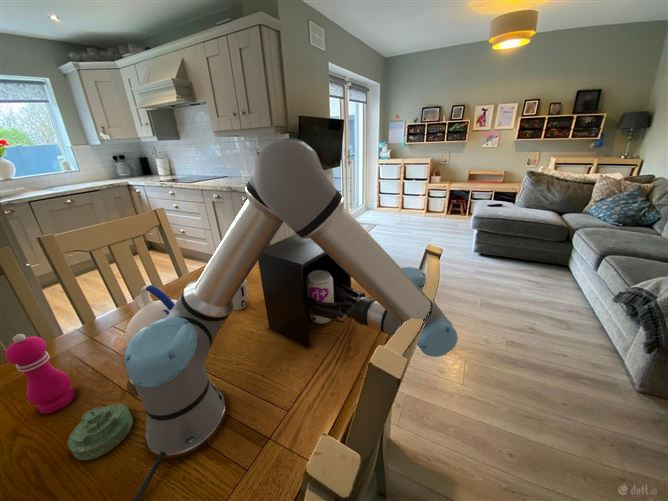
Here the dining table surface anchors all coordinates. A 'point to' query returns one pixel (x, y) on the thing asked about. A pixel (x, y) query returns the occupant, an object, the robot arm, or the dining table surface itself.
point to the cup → (240, 297)
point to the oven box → (294, 283)
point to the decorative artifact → (100, 431)
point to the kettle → (148, 310)
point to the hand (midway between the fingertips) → (309, 291)
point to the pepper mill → (40, 374)
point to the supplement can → (320, 291)
